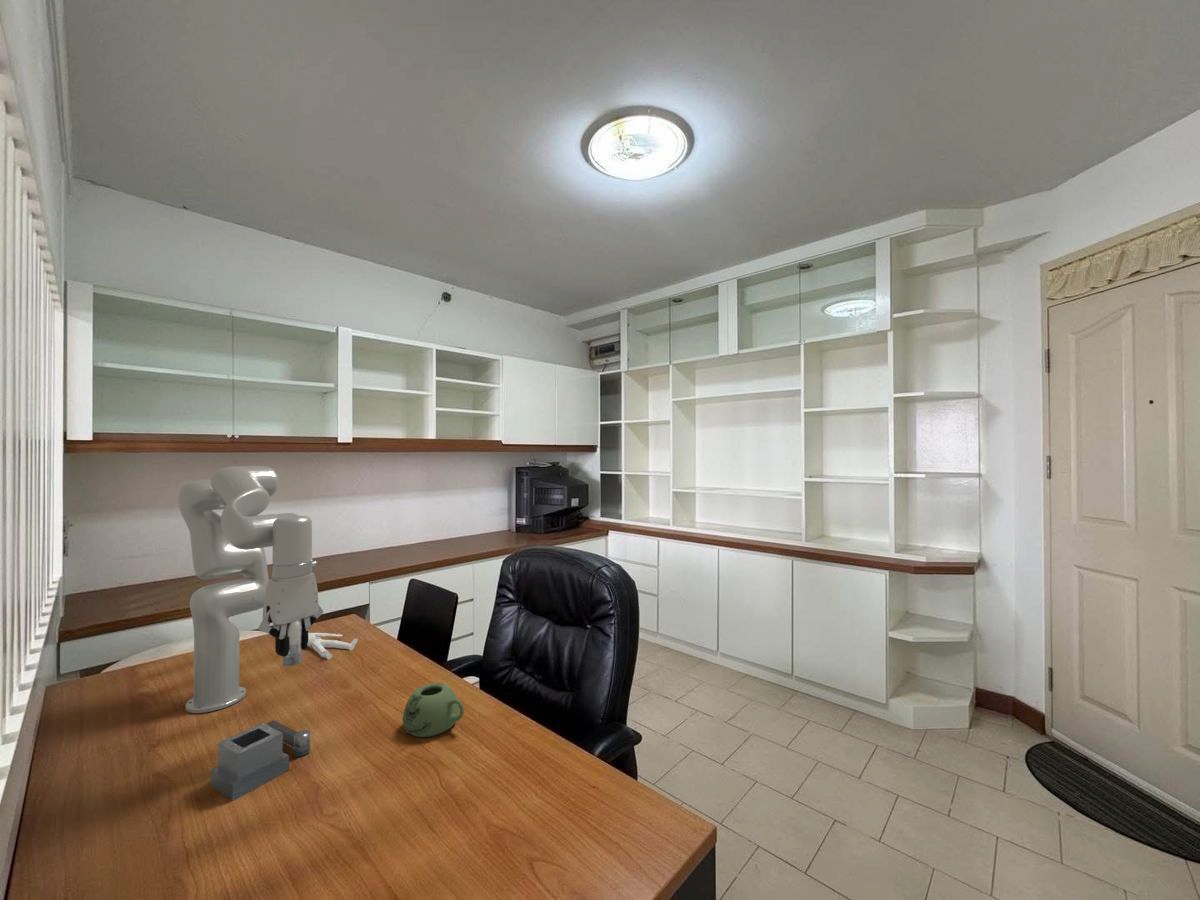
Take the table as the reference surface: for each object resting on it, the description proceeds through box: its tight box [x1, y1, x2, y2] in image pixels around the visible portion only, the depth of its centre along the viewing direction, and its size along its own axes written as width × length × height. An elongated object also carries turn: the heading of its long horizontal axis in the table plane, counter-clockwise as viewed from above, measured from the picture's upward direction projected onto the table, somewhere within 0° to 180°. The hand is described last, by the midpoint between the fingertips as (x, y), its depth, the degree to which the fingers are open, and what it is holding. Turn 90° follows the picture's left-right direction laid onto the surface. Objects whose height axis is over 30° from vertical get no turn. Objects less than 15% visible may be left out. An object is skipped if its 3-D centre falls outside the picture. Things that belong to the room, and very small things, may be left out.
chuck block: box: [210, 722, 290, 801], centre depth 95 cm, size 9×10×8 cm
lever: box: [265, 719, 311, 758], centre depth 106 cm, size 16×3×4 cm, turn 61°
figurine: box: [307, 632, 359, 660], centre depth 161 cm, size 6×19×25 cm
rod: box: [282, 619, 303, 668], centre depth 106 cm, size 4×4×11 cm
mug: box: [402, 682, 465, 738], centre depth 113 cm, size 16×13×9 cm
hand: (292, 650), depth 106 cm, fingers closed on rod, 3 cm apart
